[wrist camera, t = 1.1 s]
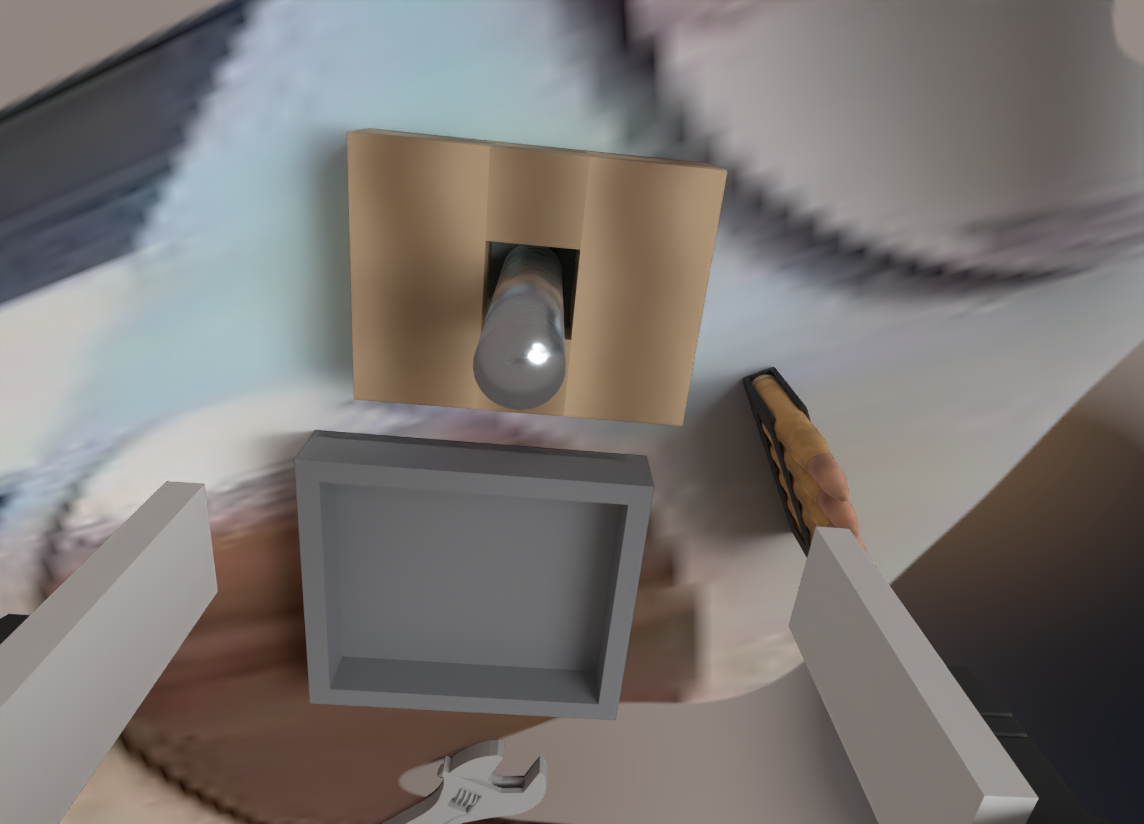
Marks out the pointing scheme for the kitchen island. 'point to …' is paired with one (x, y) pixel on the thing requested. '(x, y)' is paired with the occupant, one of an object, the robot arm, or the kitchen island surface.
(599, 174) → the tan board with hole
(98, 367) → the kitchen island surface
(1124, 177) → the kitchen island surface
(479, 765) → the adjustable wrench
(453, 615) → the tray
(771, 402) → the ammunition clip
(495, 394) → the pin
